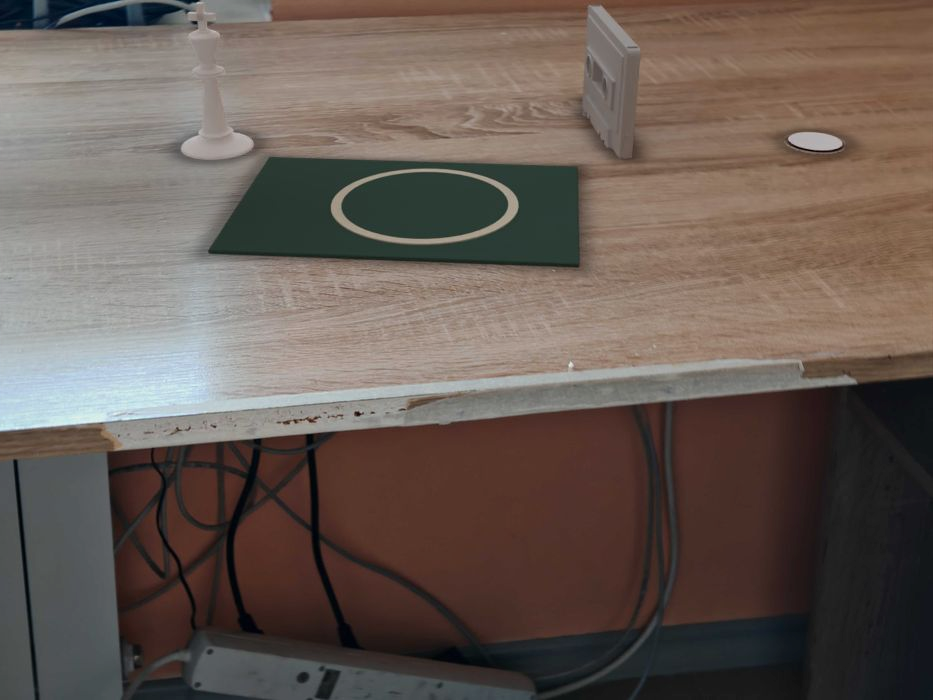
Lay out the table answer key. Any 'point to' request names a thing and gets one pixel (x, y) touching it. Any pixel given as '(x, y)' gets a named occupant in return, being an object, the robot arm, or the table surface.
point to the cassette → (610, 81)
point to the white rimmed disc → (815, 142)
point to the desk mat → (408, 212)
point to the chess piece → (211, 98)
